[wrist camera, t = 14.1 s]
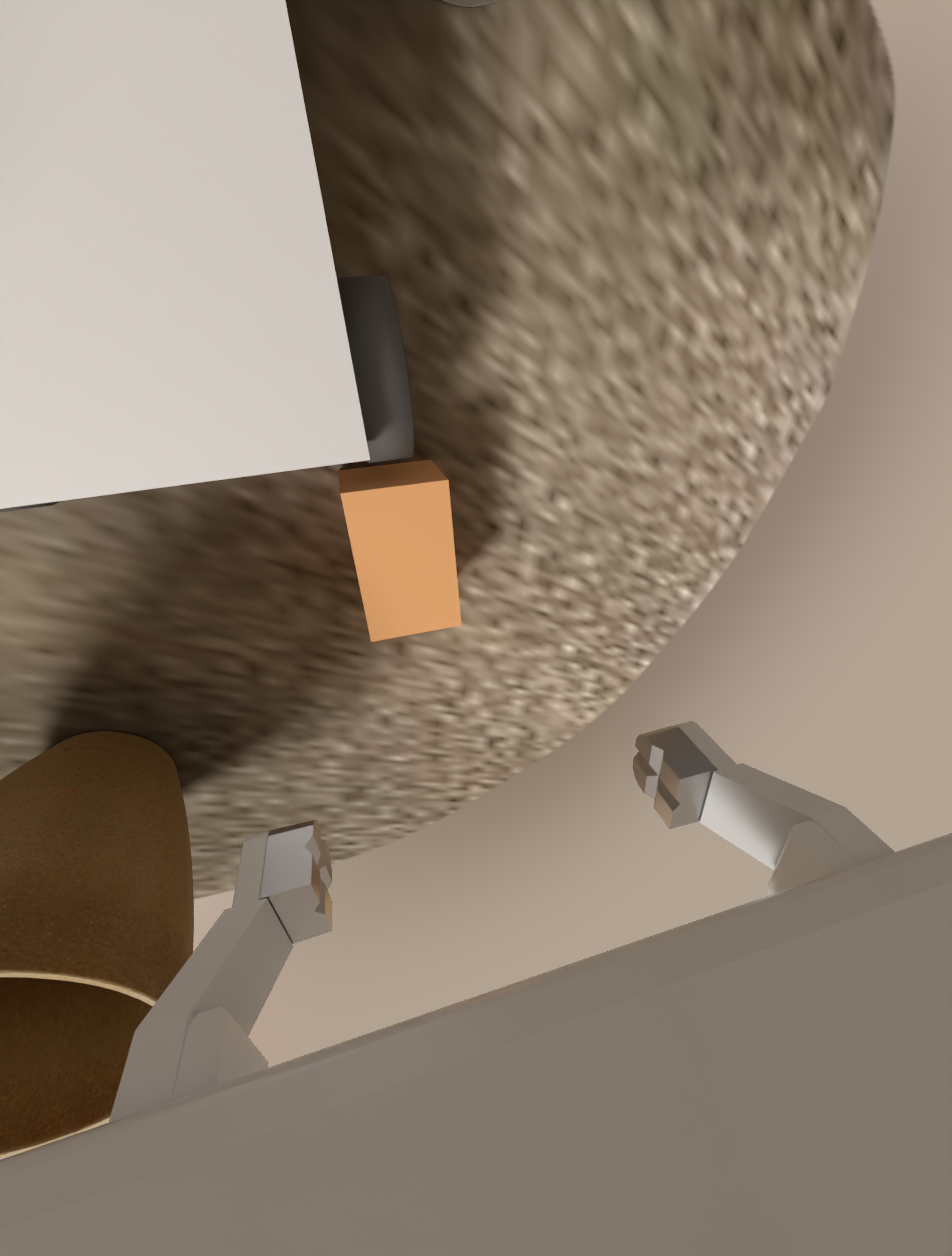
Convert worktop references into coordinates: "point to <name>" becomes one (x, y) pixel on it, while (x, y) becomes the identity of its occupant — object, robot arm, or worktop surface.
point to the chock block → (402, 547)
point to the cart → (174, 259)
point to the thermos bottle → (469, 2)
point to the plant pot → (85, 925)
